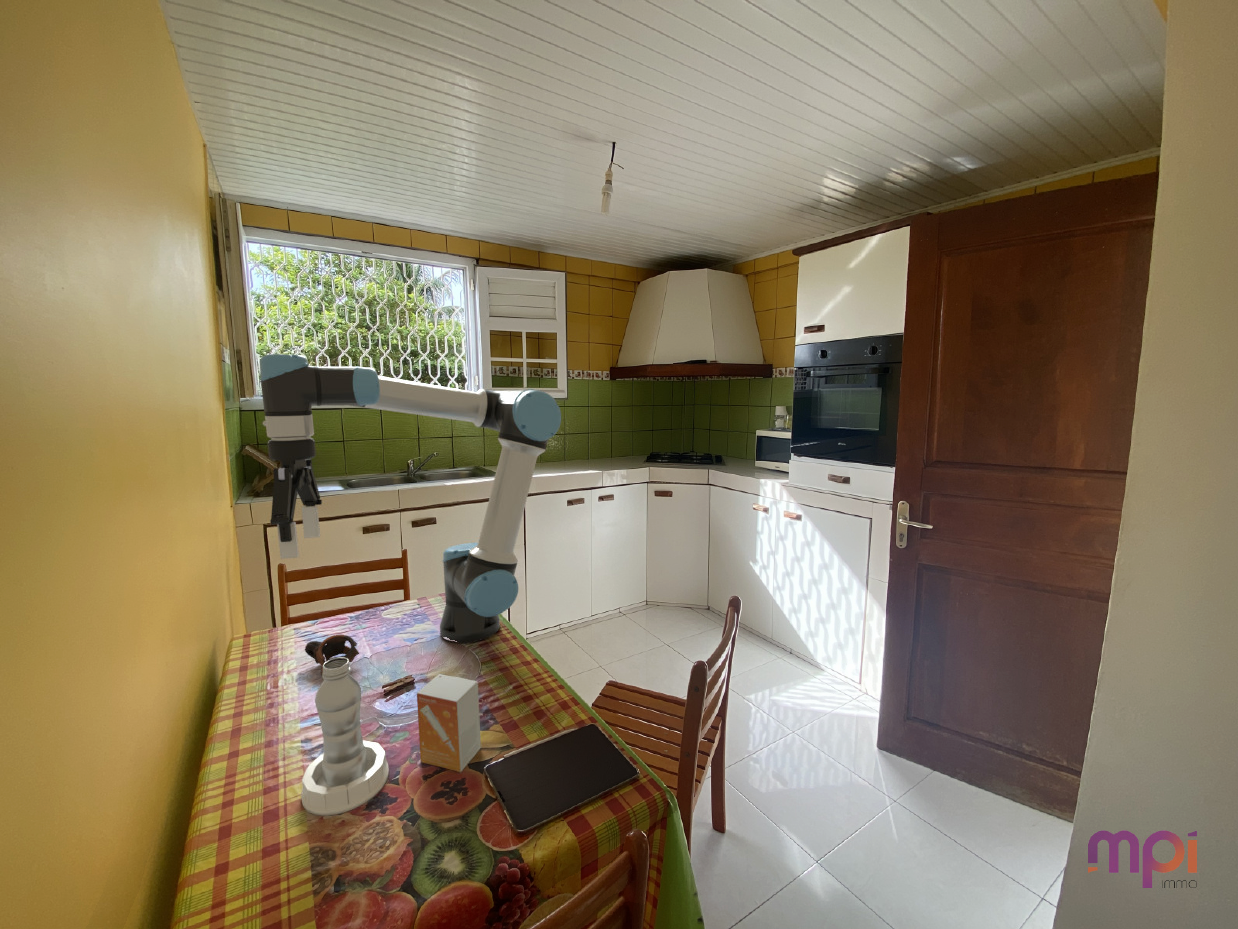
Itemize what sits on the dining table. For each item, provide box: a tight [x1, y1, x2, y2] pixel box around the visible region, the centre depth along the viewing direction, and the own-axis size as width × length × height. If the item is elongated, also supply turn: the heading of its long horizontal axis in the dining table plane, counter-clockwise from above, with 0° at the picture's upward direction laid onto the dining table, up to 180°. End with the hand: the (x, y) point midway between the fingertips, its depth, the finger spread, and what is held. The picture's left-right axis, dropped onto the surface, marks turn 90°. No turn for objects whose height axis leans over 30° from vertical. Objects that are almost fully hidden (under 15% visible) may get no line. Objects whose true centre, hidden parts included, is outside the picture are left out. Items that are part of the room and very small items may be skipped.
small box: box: [416, 673, 482, 773], centre depth 87 cm, size 8×6×13 cm
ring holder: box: [300, 739, 390, 817], centre depth 82 cm, size 12×12×3 cm
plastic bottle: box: [314, 656, 368, 787], centre depth 80 cm, size 6×7×20 cm
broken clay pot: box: [304, 634, 360, 676], centre depth 117 cm, size 12×10×8 cm
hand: (301, 547), depth 99 cm, fingers open, 13 cm apart
